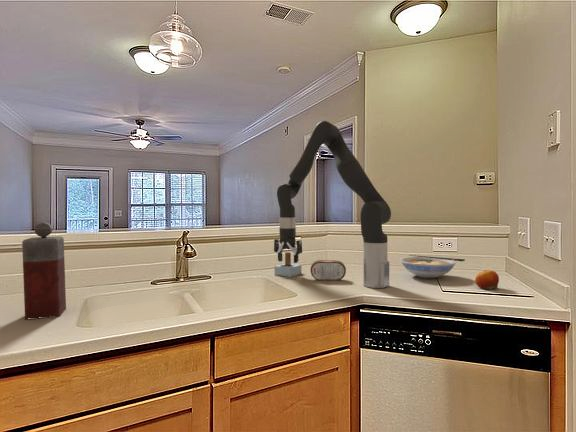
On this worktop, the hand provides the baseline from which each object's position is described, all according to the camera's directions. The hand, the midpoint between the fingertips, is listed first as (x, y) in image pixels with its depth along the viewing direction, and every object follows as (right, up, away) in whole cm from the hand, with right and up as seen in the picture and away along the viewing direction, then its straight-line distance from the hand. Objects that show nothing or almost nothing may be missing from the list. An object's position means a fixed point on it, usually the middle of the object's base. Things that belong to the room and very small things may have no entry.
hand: (287, 262), depth 171 cm
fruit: (+75, -6, -32) cm, 82 cm away
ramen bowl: (+61, -6, -10) cm, 62 cm away
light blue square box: (0, -6, 0) cm, 6 cm away
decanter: (-74, -9, -57) cm, 94 cm away
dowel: (0, -6, 0) cm, 6 cm away
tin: (+17, -6, -14) cm, 23 cm away
